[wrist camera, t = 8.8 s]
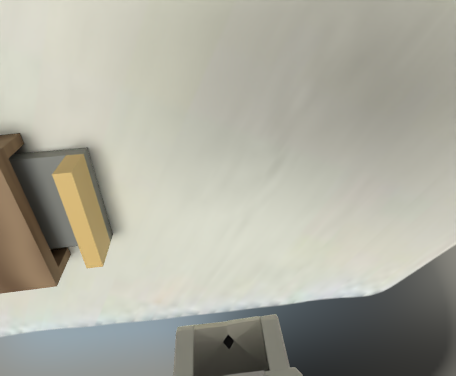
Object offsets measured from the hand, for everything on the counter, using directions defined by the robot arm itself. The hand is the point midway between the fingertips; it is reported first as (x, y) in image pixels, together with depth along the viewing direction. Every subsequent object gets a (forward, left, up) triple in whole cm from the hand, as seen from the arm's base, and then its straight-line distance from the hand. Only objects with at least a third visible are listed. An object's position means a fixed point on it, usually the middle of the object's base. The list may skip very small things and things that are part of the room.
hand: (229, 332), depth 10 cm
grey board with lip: (+16, +7, -23) cm, 29 cm away
